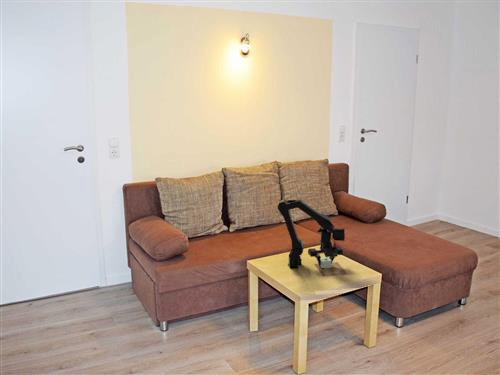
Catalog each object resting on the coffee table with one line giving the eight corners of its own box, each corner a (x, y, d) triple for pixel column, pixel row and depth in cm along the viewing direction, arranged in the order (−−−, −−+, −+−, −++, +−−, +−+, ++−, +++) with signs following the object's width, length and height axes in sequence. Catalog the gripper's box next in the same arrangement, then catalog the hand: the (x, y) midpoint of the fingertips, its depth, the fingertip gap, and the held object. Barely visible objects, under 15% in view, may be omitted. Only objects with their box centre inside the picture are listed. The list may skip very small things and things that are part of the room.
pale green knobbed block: (331, 267, 248) (331, 260, 247) (321, 268, 247) (321, 260, 247) (328, 263, 254) (328, 256, 253) (318, 264, 253) (318, 257, 252)
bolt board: (323, 278, 238) (323, 271, 237) (313, 265, 255) (313, 259, 254) (348, 276, 240) (348, 269, 239) (337, 264, 257) (337, 257, 256)
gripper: (313, 245, 238) (313, 272, 241) (347, 243, 241) (346, 270, 244) (307, 238, 249) (307, 265, 252) (339, 237, 252) (338, 263, 255)
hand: (324, 266), depth 251 cm, fingers closed on pale green knobbed block, 6 cm apart
